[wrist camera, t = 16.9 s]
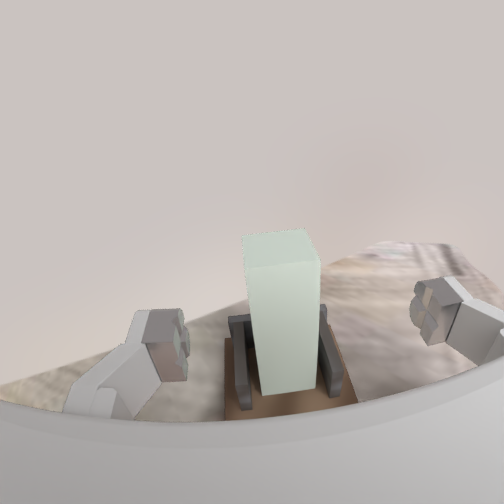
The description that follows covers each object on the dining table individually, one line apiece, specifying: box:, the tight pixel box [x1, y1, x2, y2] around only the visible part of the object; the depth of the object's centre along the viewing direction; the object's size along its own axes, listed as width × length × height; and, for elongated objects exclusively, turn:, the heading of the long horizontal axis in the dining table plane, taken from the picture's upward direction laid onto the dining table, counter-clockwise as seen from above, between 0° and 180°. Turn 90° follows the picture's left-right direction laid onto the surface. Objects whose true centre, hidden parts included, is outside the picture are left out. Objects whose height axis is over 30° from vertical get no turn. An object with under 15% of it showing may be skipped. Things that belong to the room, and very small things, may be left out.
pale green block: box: [242, 228, 321, 396], centre depth 26 cm, size 5×6×14 cm
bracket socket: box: [225, 304, 358, 421], centre depth 28 cm, size 12×12×5 cm
